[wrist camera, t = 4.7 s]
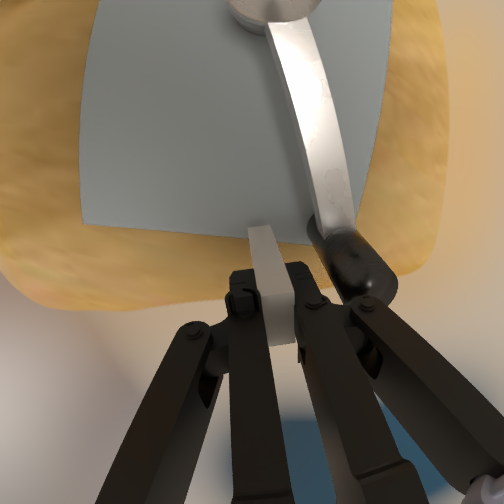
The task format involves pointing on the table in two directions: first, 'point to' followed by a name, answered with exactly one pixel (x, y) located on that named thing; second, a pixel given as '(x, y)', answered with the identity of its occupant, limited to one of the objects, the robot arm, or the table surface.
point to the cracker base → (216, 116)
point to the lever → (319, 148)
